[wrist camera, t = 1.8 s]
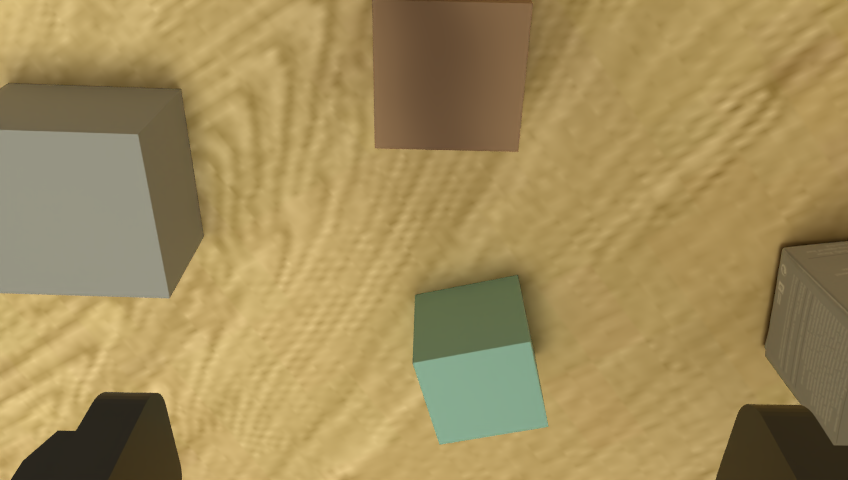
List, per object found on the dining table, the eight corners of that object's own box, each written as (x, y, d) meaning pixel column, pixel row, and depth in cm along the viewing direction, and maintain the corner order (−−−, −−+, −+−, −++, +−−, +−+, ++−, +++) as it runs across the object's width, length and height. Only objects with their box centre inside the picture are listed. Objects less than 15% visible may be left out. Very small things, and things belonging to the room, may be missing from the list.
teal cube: (517, 274, 33) (530, 341, 28) (534, 353, 35) (548, 426, 31) (415, 294, 33) (412, 362, 29) (438, 370, 36) (439, 444, 32)
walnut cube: (516, -27, 26) (532, 3, 22) (505, 102, 28) (518, 151, 24) (382, -30, 26) (372, -1, 22) (383, 99, 28) (374, 148, 24)
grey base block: (182, 87, 28) (137, 134, 24) (204, 234, 32) (169, 298, 28) (10, 82, 28) (-65, 127, 24) (52, 230, 32) (-7, 292, 28)
